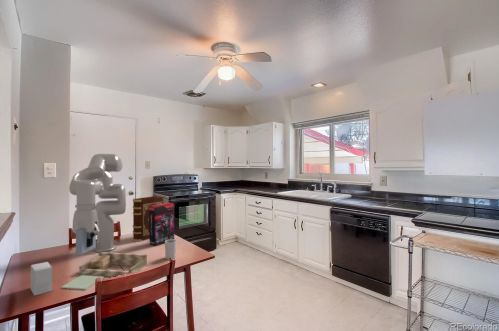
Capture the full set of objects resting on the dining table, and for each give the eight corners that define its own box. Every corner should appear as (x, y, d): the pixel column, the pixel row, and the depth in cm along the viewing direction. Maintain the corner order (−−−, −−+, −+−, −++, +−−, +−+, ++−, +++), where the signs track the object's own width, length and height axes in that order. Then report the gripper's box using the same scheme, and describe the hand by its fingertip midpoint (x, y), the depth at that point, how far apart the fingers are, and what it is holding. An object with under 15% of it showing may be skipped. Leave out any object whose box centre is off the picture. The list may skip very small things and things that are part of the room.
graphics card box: (154, 246, 172) (154, 206, 172) (148, 244, 176) (148, 205, 175) (174, 240, 186) (174, 203, 186) (168, 238, 190) (168, 202, 190)
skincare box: (52, 290, 113) (52, 267, 113) (34, 296, 108) (33, 271, 108) (48, 283, 120) (47, 260, 120) (30, 288, 115) (30, 264, 115)
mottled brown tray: (79, 274, 130) (79, 262, 130) (100, 262, 145) (100, 252, 144) (131, 277, 126) (131, 265, 126) (146, 265, 141) (146, 254, 141)
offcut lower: (88, 272, 132) (88, 267, 132) (100, 265, 141) (100, 260, 141) (100, 273, 132) (100, 267, 132) (111, 266, 141) (111, 261, 140)
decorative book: (137, 242, 181) (137, 200, 181) (130, 240, 186) (130, 199, 185) (163, 234, 200) (163, 196, 200) (156, 233, 205) (156, 195, 204)
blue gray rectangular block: (75, 253, 117) (75, 229, 117) (90, 247, 126) (90, 224, 126) (81, 253, 117) (81, 229, 116) (95, 247, 125) (95, 225, 125)
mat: (61, 288, 115) (61, 286, 115) (81, 276, 127) (81, 275, 127) (85, 289, 114) (85, 288, 114) (104, 277, 126) (104, 276, 126)
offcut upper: (90, 267, 132) (90, 261, 132) (98, 261, 140) (98, 255, 140) (103, 267, 133) (103, 261, 133) (109, 260, 141) (109, 255, 141)
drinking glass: (166, 260, 149) (166, 243, 148) (163, 256, 154) (163, 240, 154) (177, 257, 153) (178, 241, 152) (174, 254, 158) (174, 238, 158)
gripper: (63, 208, 118) (63, 248, 118) (96, 209, 116) (96, 249, 117) (76, 205, 125) (76, 242, 126) (107, 206, 124) (107, 244, 124)
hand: (86, 245), depth 121 cm, fingers closed on blue gray rectangular block, 3 cm apart
